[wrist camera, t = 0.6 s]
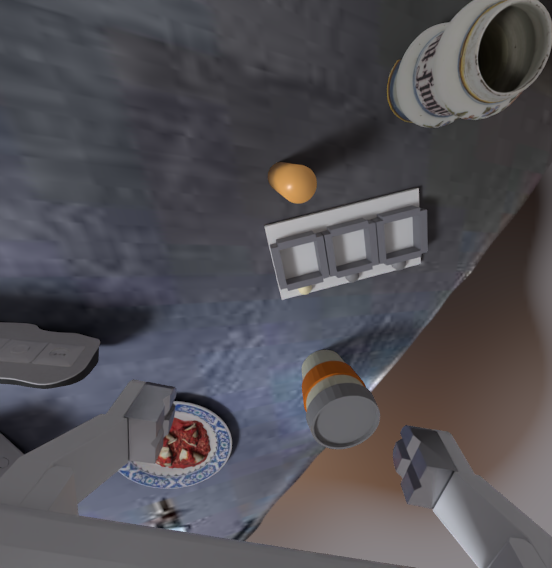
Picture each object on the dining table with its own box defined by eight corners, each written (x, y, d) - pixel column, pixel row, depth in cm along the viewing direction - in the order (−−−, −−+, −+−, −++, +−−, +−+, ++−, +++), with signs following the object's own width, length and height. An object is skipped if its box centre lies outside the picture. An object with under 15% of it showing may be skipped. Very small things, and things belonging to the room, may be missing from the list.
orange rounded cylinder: (278, 156, 48) (296, 156, 36) (300, 173, 50) (324, 180, 37) (262, 179, 50) (273, 188, 37) (283, 196, 51) (301, 210, 38)
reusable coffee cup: (317, 332, 62) (341, 383, 49) (362, 358, 66) (396, 411, 53) (281, 376, 65) (294, 435, 52) (326, 398, 69) (349, 458, 56)
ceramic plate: (238, 396, 66) (239, 407, 63) (225, 479, 76) (225, 491, 73) (109, 391, 61) (103, 402, 59) (111, 480, 71) (107, 493, 68)
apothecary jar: (429, 16, 44) (547, -66, 28) (467, 89, 48) (589, 56, 32) (363, 83, 46) (437, 43, 30) (406, 147, 51) (490, 144, 34)
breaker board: (281, 297, 58) (284, 305, 55) (264, 225, 52) (266, 230, 49) (417, 262, 59) (428, 268, 56) (415, 187, 53) (427, 189, 50)
